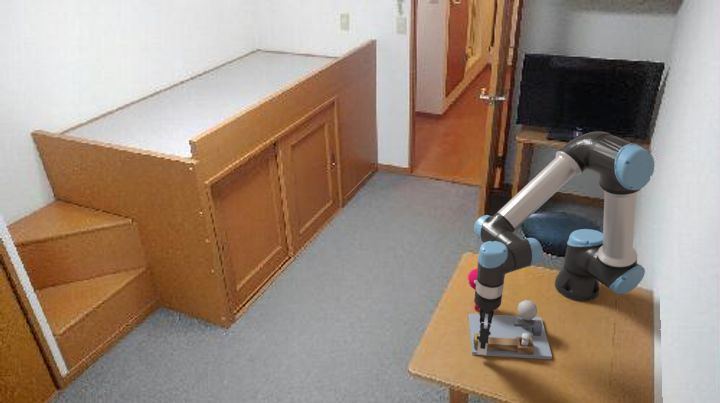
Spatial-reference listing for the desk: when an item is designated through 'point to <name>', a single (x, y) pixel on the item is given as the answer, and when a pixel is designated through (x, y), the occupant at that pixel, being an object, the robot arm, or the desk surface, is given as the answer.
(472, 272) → the toy
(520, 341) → the link
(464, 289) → the desk surface
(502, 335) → the board
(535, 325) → the keeper
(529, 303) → the lightbulb
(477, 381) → the desk surface
